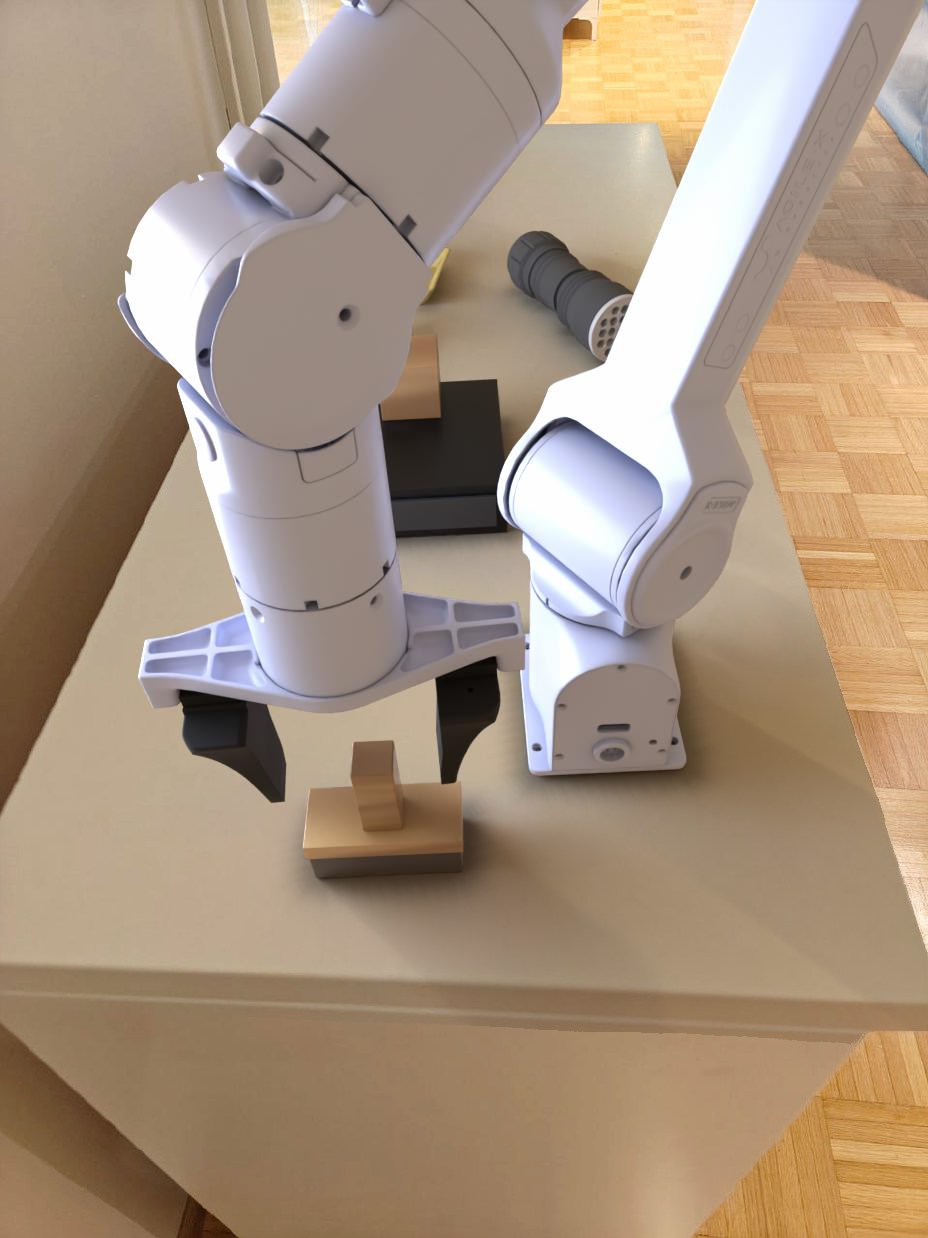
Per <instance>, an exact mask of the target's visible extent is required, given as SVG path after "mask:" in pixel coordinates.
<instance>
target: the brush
mask: <svg viewBox="0 0 928 1238" xmlns="http://www.w3.org/2000/svg"><path fill="white" fill-rule="evenodd" d="M350 756H351V759H350V769H349V778H350V781H351V782H350V783H351V786H350V785H349V786H328V787H311V788H309V789H308V794H307V795H308V796H307V797H308V798H307V805H306V813H305V824H304V833H303V843H302V850H303V853H304V856H305V859H306V860H309V862H310V864H311V867H312V871H313V873H314V876H315V879H325V878H350V877H371V876H393V875H413V874H415V875H416V874H417V875H418V874H435V873H454V872H455V873H457V872H460V873H461V872H463V871H464V820H463V789H462V781H459V780H457V781H456V782H455V783H451V784H442V785H441V781H436V782H434V781H433V782H417V783H415V782H414V783H413V782H412V783H402V781H401V774H400V770H399V763H398V759H397V758H398V757H397V752H396V746H395V741H394V739H388V740H387V739H385V740H367V741H366V740H365V741H353V742H352V743H351V755H350Z"/></svg>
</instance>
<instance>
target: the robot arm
mask: <svg viewBox="0 0 928 1238" xmlns="http://www.w3.org/2000/svg"><path fill="white" fill-rule="evenodd" d="M340 1H341V2H342V4H341V6H340V7H339V8H338V9H337V11H336V12H335V14H334V15H333V16H332V18H331V19H330V20H329V21H328V23H327V24H326V26H325V27H324V28H323V29H322V31H321V32H320V33H319V35H318V36H317V37H316V38H315V40H313V42H312V44H311V46H310V47H309V48H308V50H307V51H306V52H305V53H304V55H303V56H302V57H301V58H300V59H299V61H298V63H297V64H296V65H295V66H294V68H293V69H292V71H291V72H290V73H289V74H288V76H287V77H286V79H285V80H284V81H283V83H282V84H280V87H278V89H277V90H276V91H275V93H274V94H273V95H272V97H271V98H270V99H269V101H268V102H267V104H266V105H265V106H264V107H263V108H262V109H261V111H260V113H259V115H258V116H257V117H256V118H255V119H254V121H253V122H252V123H251V125H250V126H248V125H246V123H244V122H242V121H237V122H236V123H235V124H234V125H233V127H231V129H230V130H229V132H228V133H227V135H226V136H225V137H224V138H223V140H222V141H221V142H220V143H219V145H218V147H217V149H216V155H217V158H218V159H219V160H220V161H221V163H223V170H218V171H216V170H215V171H207V172H202V173H199V174H197V176H198V179H199V180H197V181H195V182H192V183H189V182H188V181H187V180H185V179H183V180H181V181H180V182H178V183H176V184H174V185H173V186H171V188H169V189H167V190H166V191H165V192H163V193H162V194H161V195H160V196H159V197H158V198H157V199H156V200H155V201H154V202H153V203H152V204H151V206H150V207H148V209H147V211H146V212H145V214H144V215H143V217H142V218H141V220H140V221H139V222H138V225H137V227H136V229H135V232H134V234H133V236H132V238H131V240H130V244H129V249H128V251H127V254H126V256H127V257H128V258H129V259H130V260H131V261H132V264H131V270H130V271H129V270H125V271H124V273H125V274H124V276H125V279H124V280H125V289H126V290H125V291H126V292H125V293H122V294H120V295H119V296H118V297H117V305H118V308H119V310H120V312H121V315H122V316H123V318H124V320H125V322H126V324H127V325H128V327H129V329H131V331H132V333H133V334H134V335H135V336H136V337H137V338H138V339H139V340H140V342H141V343H142V344H143V345H144V346H145V347H146V348H147V349H148V350H149V351H150V352H151V353H153V354H154V355H155V356H156V357H158V358H159V359H161V360H162V361H164V362H165V363H167V364H169V365H171V367H173V368H174V369H175V370H176V371H177V372H178V373H179V374H180V375H181V376H182V377H181V378H179V380H178V382H177V385H176V386H177V390H178V394H179V397H180V400H181V404H182V406H183V407H182V408H183V409H184V414H185V416H186V419H187V423H188V426H189V430H190V433H191V437H192V439H193V442H194V446H195V448H196V454H197V457H196V458H197V464H198V469H199V472H200V476H201V479H202V482H203V485H204V489H205V492H206V495H207V498H208V501H209V504H210V507H211V511H212V514H213V517H214V520H215V524H216V528H217V530H218V533H219V537H220V540H221V543H222V546H223V550H224V553H225V556H226V558H227V562H228V565H229V569H230V571H231V574H232V577H233V581H234V583H235V586H236V590H237V593H238V596H239V599H240V603H241V606H242V608H243V611H242V612H240V613H236V614H234V615H231V616H228V617H225V618H222V619H220V620H217V621H214V622H211V623H208V624H206V625H202V626H200V627H197V628H194V629H191V630H187V631H184V632H181V633H176V634H172V635H168V636H161V637H155V638H147V639H145V641H144V645H143V650H142V655H141V661H140V666H139V671H138V677H137V678H138V680H139V682H140V684H141V687H142V689H143V691H144V693H145V695H146V698H147V699H148V702H149V703H150V706H151V709H153V710H154V709H155V710H156V709H165V708H175V707H177V706H179V705H180V704H181V706H182V710H181V712H182V714H183V721H182V729H181V736H182V740H183V743H184V744H185V746H186V748H187V749H188V751H189V752H190V753H191V755H193V756H196V757H197V756H198V757H203V758H205V759H209V760H212V761H215V762H217V763H220V764H222V765H224V766H225V767H228V768H229V769H230V770H233V771H235V772H236V773H238V774H239V775H240V776H242V777H243V778H245V780H247V781H248V782H249V783H250V784H251V785H252V786H254V788H255V789H256V790H258V791H259V792H260V793H261V794H262V796H263V797H265V799H267V800H268V802H270V803H271V804H276V803H284V802H286V786H287V785H286V784H287V761H286V756H285V752H284V751H285V750H284V747H283V744H282V742H281V739H280V737H279V733H278V731H277V729H276V726H275V724H274V720H273V718H272V715H271V713H270V710H269V707H268V706H273V707H279V708H284V709H290V710H296V711H301V712H305V713H306V712H307V713H314V714H337V713H345V712H348V711H349V712H350V711H353V710H357V709H359V708H362V707H366V706H368V705H370V704H373V703H375V702H379V701H381V700H383V699H386V698H388V697H390V696H393V695H396V694H398V693H400V692H403V691H406V690H408V689H411V688H413V687H416V686H418V685H421V684H423V683H426V682H429V681H431V680H434V682H435V691H436V704H435V705H436V707H435V709H436V710H435V711H436V712H435V733H436V743H437V754H438V764H439V774H440V775H439V777H440V782H441V785H442V784H451V783H455V782H456V781H458V775H459V771H460V768H461V765H462V763H463V760H464V758H465V756H466V754H467V753H468V750H469V748H470V746H471V745H472V744H473V743H474V741H475V740H476V738H478V736H479V735H480V734H481V733H482V732H483V731H484V730H485V729H486V728H488V727H490V726H491V725H493V724H494V723H496V722H497V718H498V717H499V713H500V708H501V703H502V701H501V700H502V699H501V689H500V683H499V677H498V671H500V672H501V673H509V672H519V675H520V684H521V696H522V706H523V719H524V728H525V742H526V743H525V744H526V752H527V753H526V754H527V763H528V769H529V772H530V773H531V774H532V775H534V776H538V777H539V776H540V777H541V776H560V775H561V776H562V775H582V774H584V775H585V774H599V773H600V774H601V773H602V774H603V773H624V772H625V773H626V772H645V771H646V772H647V771H648V772H649V771H665V770H666V771H668V770H680V769H682V768H684V767H685V765H686V763H687V753H686V749H685V745H684V740H683V737H682V733H681V728H680V724H679V723H680V722H679V720H678V711H679V706H680V702H681V693H682V692H681V683H680V679H679V675H678V671H677V666H676V662H675V656H674V650H673V636H674V631H675V625H676V620H677V619H678V620H679V618H681V617H682V616H684V615H685V614H687V613H688V612H690V611H691V610H692V609H693V608H694V607H695V606H697V605H698V604H699V603H700V602H701V601H703V599H704V598H705V596H707V594H708V593H709V592H710V591H711V589H712V588H713V587H714V585H715V584H716V582H717V581H718V580H719V578H720V577H721V575H722V573H723V571H724V569H725V568H726V565H727V563H728V560H729V557H730V554H731V552H732V546H733V539H734V538H733V537H734V534H735V530H736V526H737V523H738V520H739V517H740V515H741V513H742V510H743V508H744V505H745V503H746V502H747V499H748V495H749V493H750V491H751V490H752V488H753V486H754V478H753V474H752V472H751V469H750V466H749V463H748V461H747V459H746V457H745V454H744V452H743V450H742V448H741V446H740V443H739V441H738V439H737V436H736V434H735V431H734V429H733V427H732V425H731V422H730V419H729V417H728V414H727V410H726V405H727V402H728V400H729V399H730V397H731V395H732V392H733V390H734V388H735V386H736V385H737V382H738V380H739V378H740V376H741V374H742V373H743V370H744V368H745V366H746V364H747V362H748V360H749V359H750V356H751V354H752V352H753V350H754V349H755V346H756V344H757V342H758V340H759V338H760V335H761V334H762V331H763V330H764V328H765V326H766V324H767V322H768V320H769V318H770V315H772V312H773V310H774V307H775V305H776V303H777V302H778V299H779V297H780V295H781V293H782V292H783V290H784V287H785V286H786V283H787V281H788V279H789V277H790V275H791V273H792V271H793V269H794V267H795V265H796V263H797V261H798V258H799V257H800V255H801V253H802V252H803V249H804V247H805V245H806V243H807V241H808V239H809V237H810V235H811V233H812V231H813V228H814V227H815V225H816V222H817V221H818V218H819V216H820V214H821V212H822V210H823V208H824V206H825V205H826V202H827V201H828V199H829V196H830V194H831V193H832V190H833V188H834V186H835V184H836V182H837V180H838V179H839V176H840V174H841V172H842V170H843V169H844V166H845V164H846V162H847V160H848V158H849V156H850V154H851V152H852V150H853V148H854V146H855V144H856V141H857V140H858V137H859V136H860V134H861V131H862V130H863V128H864V125H865V123H866V121H867V120H868V117H869V115H870V114H871V111H872V109H873V107H874V105H875V103H876V101H877V99H878V97H879V95H880V93H881V91H882V89H883V88H884V85H885V83H886V81H887V80H888V79H887V78H888V77H889V75H890V73H891V71H892V68H893V67H894V65H895V63H896V61H897V59H898V57H899V54H900V52H901V51H902V48H903V46H904V44H905V43H906V40H907V38H908V36H909V34H910V33H911V30H912V29H913V26H914V24H915V22H916V20H917V18H918V17H919V14H920V13H921V10H922V8H923V6H924V4H925V2H926V0H755V1H754V5H753V7H752V9H751V12H750V14H749V17H748V19H747V21H746V23H745V26H744V28H743V30H742V33H741V36H740V38H739V40H738V42H737V45H736V48H735V50H734V52H733V55H732V56H731V60H730V62H729V65H728V67H727V69H726V72H725V74H724V76H723V78H722V81H721V84H720V86H719V88H718V91H717V94H716V95H715V98H714V100H713V103H712V105H711V108H710V110H709V112H708V115H707V118H706V120H705V122H704V124H703V126H702V129H701V132H700V133H699V137H698V138H697V141H696V144H695V146H694V149H693V151H692V153H691V156H690V158H689V160H688V163H687V164H686V165H687V166H686V168H685V170H684V173H683V175H682V177H681V180H680V182H679V184H678V187H677V189H676V192H675V194H674V196H673V199H672V201H671V203H670V206H669V209H668V211H667V213H666V216H665V218H664V220H663V223H662V225H661V228H660V230H659V233H658V235H657V238H656V239H655V242H654V245H653V247H652V250H651V252H650V254H649V257H648V259H647V260H646V261H647V262H646V264H645V266H644V269H643V271H642V273H641V276H640V278H639V281H638V283H637V286H636V288H635V290H634V292H633V293H634V295H633V297H632V300H631V302H630V305H629V307H628V310H627V312H626V314H625V317H624V319H623V322H622V324H621V326H620V329H619V331H618V334H617V336H616V338H615V341H614V343H613V346H612V348H611V350H610V353H609V355H608V358H607V360H606V362H603V364H601V365H599V366H597V367H594V368H592V369H589V370H586V371H583V372H580V373H578V374H577V373H576V374H574V375H572V376H569V377H565V378H563V379H560V380H558V381H556V382H553V383H552V384H551V385H550V386H549V388H548V389H547V392H546V395H545V398H544V400H543V402H542V405H541V407H540V409H539V411H538V413H537V415H536V417H535V418H534V420H533V422H532V423H531V425H530V426H529V428H528V429H527V430H526V432H525V433H524V434H523V435H522V436H521V437H520V439H519V440H518V441H517V442H516V443H515V445H514V446H513V447H512V450H511V451H510V453H509V454H508V456H507V458H506V460H505V464H504V467H503V469H502V472H501V475H500V479H499V483H498V490H497V500H498V506H499V509H500V512H501V513H502V515H503V517H504V518H505V519H506V521H507V524H509V525H511V526H512V527H513V528H515V529H518V530H520V531H522V553H523V554H524V555H525V556H526V557H527V558H528V560H529V564H530V568H529V569H530V571H529V572H530V575H529V578H530V579H529V581H530V582H529V633H525V627H524V623H523V618H522V612H521V609H520V603H519V602H518V601H507V602H505V601H504V602H483V601H482V602H481V601H474V600H473V601H472V600H465V599H458V598H451V597H445V596H438V595H431V594H427V593H426V594H424V593H418V592H412V591H406V590H403V583H402V575H401V568H400V559H399V551H398V545H397V538H395V530H394V522H393V514H392V507H391V499H390V491H389V484H388V476H387V468H386V460H385V453H384V446H383V438H382V431H381V424H380V417H379V409H378V404H380V403H381V402H382V401H384V400H385V399H386V398H387V397H389V396H390V395H391V393H392V392H393V390H394V389H395V387H396V385H397V383H398V381H399V379H400V376H401V374H402V372H403V369H404V366H405V363H406V360H407V356H408V353H409V348H410V342H411V336H413V334H412V333H413V323H414V319H415V316H416V313H417V311H418V310H419V307H420V305H422V304H421V302H422V301H423V300H424V298H425V297H426V296H427V295H428V293H429V290H428V289H427V284H428V282H429V281H430V280H431V278H432V271H431V270H430V269H429V268H430V267H431V265H432V264H433V263H434V262H435V260H436V259H437V258H438V256H439V255H440V254H441V253H442V251H443V250H444V249H445V248H446V247H448V245H449V244H450V243H451V242H452V240H453V239H454V238H455V237H456V235H457V234H458V233H459V232H460V230H461V229H462V228H463V227H464V225H465V224H466V223H467V222H468V220H469V219H470V218H471V217H472V215H473V214H474V213H475V212H476V210H478V208H479V206H480V205H481V204H482V203H483V202H484V201H485V199H486V197H487V196H488V195H489V194H490V192H491V191H492V190H493V189H494V187H495V186H496V185H497V184H498V183H499V181H501V179H502V178H503V176H504V175H505V174H506V172H507V171H509V169H510V167H511V166H512V165H513V164H514V163H515V161H517V158H518V157H519V156H520V155H521V153H522V152H523V151H524V150H525V148H526V147H527V146H528V145H529V143H530V142H531V141H532V140H533V139H534V137H535V136H536V134H537V133H538V132H539V131H540V130H541V128H542V127H543V126H544V125H545V123H546V122H547V121H548V120H549V118H550V117H551V116H552V115H553V114H554V113H555V111H556V110H557V108H558V106H559V104H560V100H561V96H562V90H563V89H562V88H563V45H564V44H563V38H564V28H565V27H566V26H567V25H568V24H569V23H570V21H571V20H572V19H574V17H575V16H576V15H577V14H578V13H579V11H580V10H581V9H582V8H583V7H584V6H585V5H586V4H587V3H588V2H589V0H340ZM526 648H528V649H526ZM672 742H674V743H675V744H672ZM536 748H537V749H540V750H537V751H536V750H534V749H536Z"/></svg>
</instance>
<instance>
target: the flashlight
mask: <svg viewBox="0 0 928 1238" xmlns="http://www.w3.org/2000/svg"><path fill="white" fill-rule="evenodd" d="M506 268H507V272H508V274H509V277H510V280H511V282H512V283H513V285H514V286H515V287H516V288H517V289H519V290H520V291H521V292H522V293H523V294H525V295H527V296H529V297H530V298H533V299H537V300H538V301H539V302H540V303H541V304H543V305H545V306H547V307H549V308H551V309H552V310H553V311H554V312H555V313H556V314H557V318H558V319H559V322H560V323H561V324H562V325H563V326H564V327H565V328H566V329H568V330H569V331H570V332H571V333H573V335H574V338H575V339H576V340H577V342H578V343H580V344H581V346H583V347H584V348H585V349H586V350H588V351H589V352H590V353H591V354H592V355H593V356H594V357H596V358H597V359H598V360H599V361H601V362H603V363H605V362H606V360H607V358H608V355H609V353H610V350H611V348H612V346H613V343H614V341H615V338H616V336H617V334H618V331H619V329H620V326H621V324H622V322H623V319H624V317H625V314H626V312H627V310H628V307H629V305H630V302H631V300H632V297H633V295H634V293H635V292H633V291H632V290H630V289H629V288H627V287H626V286H625V285H624V284H623V283H621V282H618V281H616V280H615V281H614V280H611V279H610V278H609V277H607V275H605V274H604V273H602V272H601V271H600V270H597V269H589V268H587V267H586V266H585V265H583V264H582V263H581V262H580V261H579V259H578V258H577V257H576V256H575V255H573V254H572V253H571V252H570V250H569V248H568V247H567V245H566V243H565V242H564V241H562V240H561V239H559V238H558V237H556V236H555V235H554V234H553V233H551V232H549V231H545V230H530V231H528V232H525V233H524V234H522V235H520V236H519V237H518V238H517V239H515V240H514V242H513V244H512V245H511V247H510V249H509V251H508V254H507V259H506Z"/></svg>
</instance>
